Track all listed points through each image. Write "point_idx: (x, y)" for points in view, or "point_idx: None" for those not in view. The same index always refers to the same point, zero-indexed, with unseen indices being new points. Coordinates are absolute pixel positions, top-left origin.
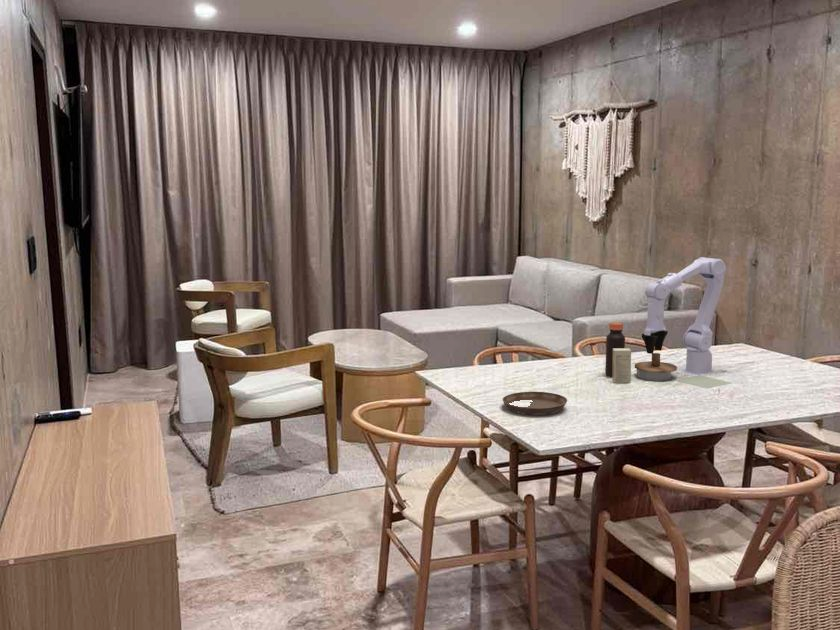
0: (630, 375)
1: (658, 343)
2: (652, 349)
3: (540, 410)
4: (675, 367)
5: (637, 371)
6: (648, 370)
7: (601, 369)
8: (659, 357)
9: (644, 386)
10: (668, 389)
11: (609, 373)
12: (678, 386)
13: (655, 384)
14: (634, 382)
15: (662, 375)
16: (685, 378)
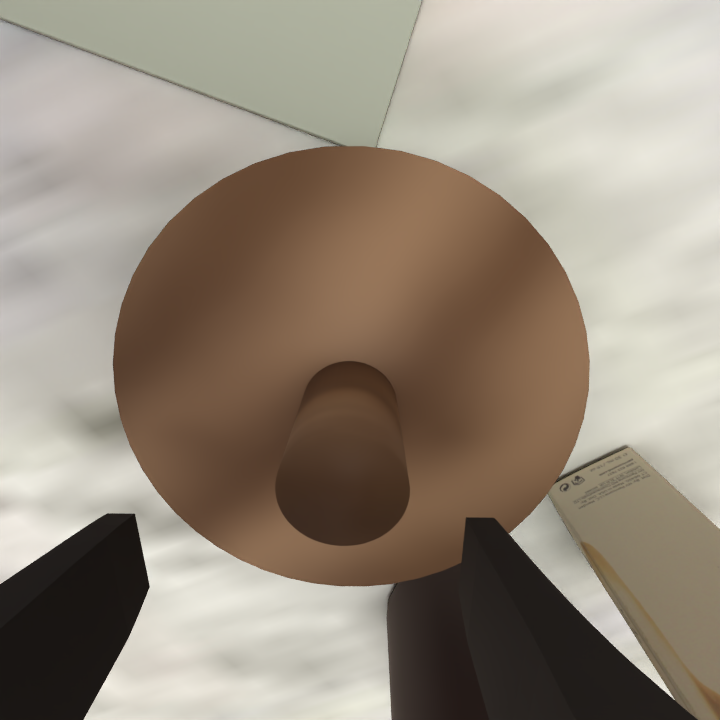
0: (671, 485)
1: (60, 659)
2: (536, 576)
3: None
4: (283, 172)
5: None
6: (581, 391)
7: (328, 712)
8: (358, 410)
9: (687, 319)
10: (716, 83)
11: None
12: (538, 42)
13: (567, 270)
14: (582, 433)
15: None
16: (224, 87)
